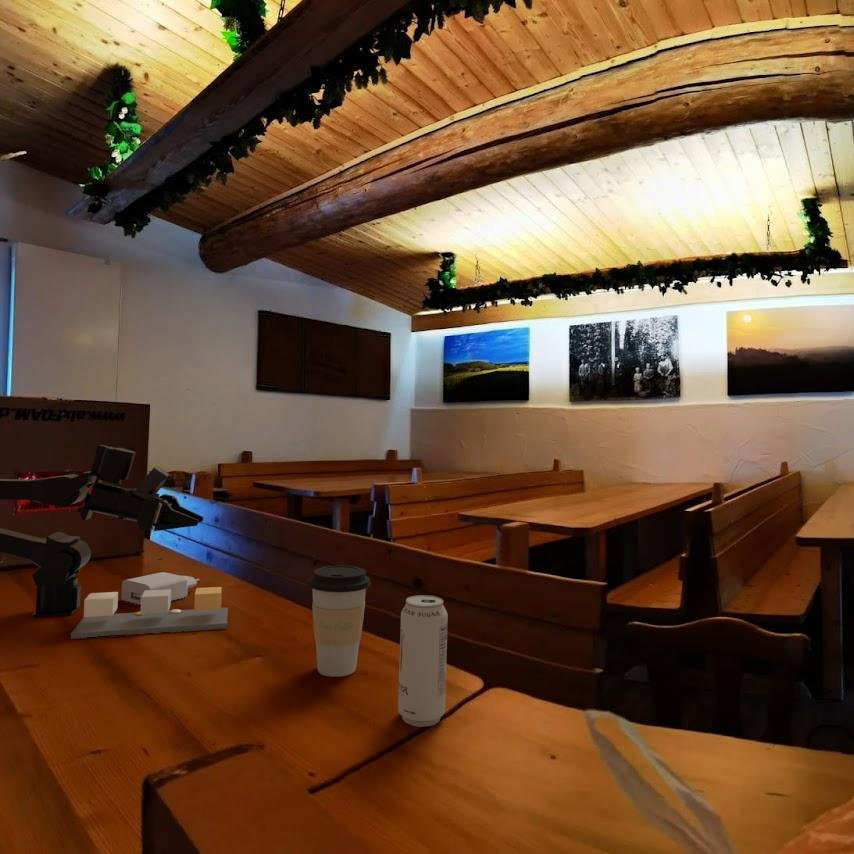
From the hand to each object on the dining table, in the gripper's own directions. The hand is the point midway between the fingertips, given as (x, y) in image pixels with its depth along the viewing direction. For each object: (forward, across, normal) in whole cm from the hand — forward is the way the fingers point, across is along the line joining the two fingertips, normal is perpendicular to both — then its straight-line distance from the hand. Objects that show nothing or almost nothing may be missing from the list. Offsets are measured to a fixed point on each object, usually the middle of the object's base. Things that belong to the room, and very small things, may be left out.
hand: (200, 521), depth 121 cm
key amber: (+6, -9, +14) cm, 18 cm away
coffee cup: (+28, -36, +14) cm, 48 cm away
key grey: (-2, -10, +16) cm, 19 cm away
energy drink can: (+37, -53, +13) cm, 66 cm away
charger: (-3, +10, +18) cm, 21 cm away
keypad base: (-2, -9, +19) cm, 21 cm away
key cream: (-11, -10, +19) cm, 24 cm away
